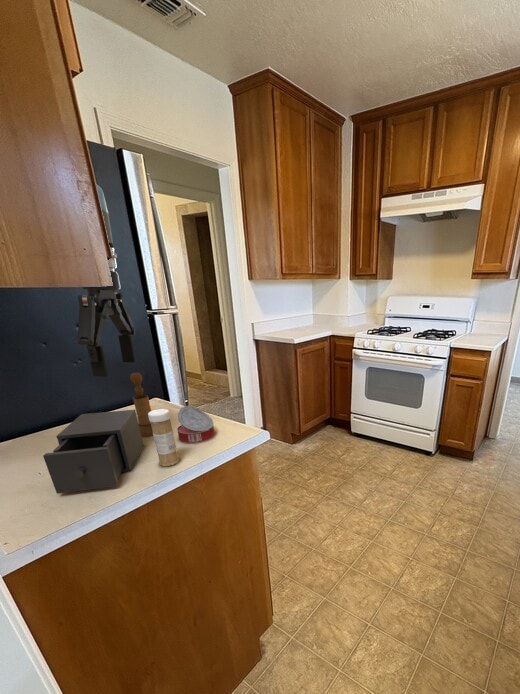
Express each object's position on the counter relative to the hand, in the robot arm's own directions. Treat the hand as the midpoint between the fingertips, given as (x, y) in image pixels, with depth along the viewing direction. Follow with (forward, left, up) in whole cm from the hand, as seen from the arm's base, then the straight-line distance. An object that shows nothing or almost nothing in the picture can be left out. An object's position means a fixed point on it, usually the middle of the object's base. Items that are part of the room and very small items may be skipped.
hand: (116, 368), depth 83 cm
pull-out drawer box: (-5, -12, -22) cm, 25 cm away
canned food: (+14, +9, -23) cm, 28 cm away
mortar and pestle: (-1, +15, -23) cm, 27 cm away
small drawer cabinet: (-5, -3, -22) cm, 23 cm away
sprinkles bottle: (+10, -7, -23) cm, 25 cm away
